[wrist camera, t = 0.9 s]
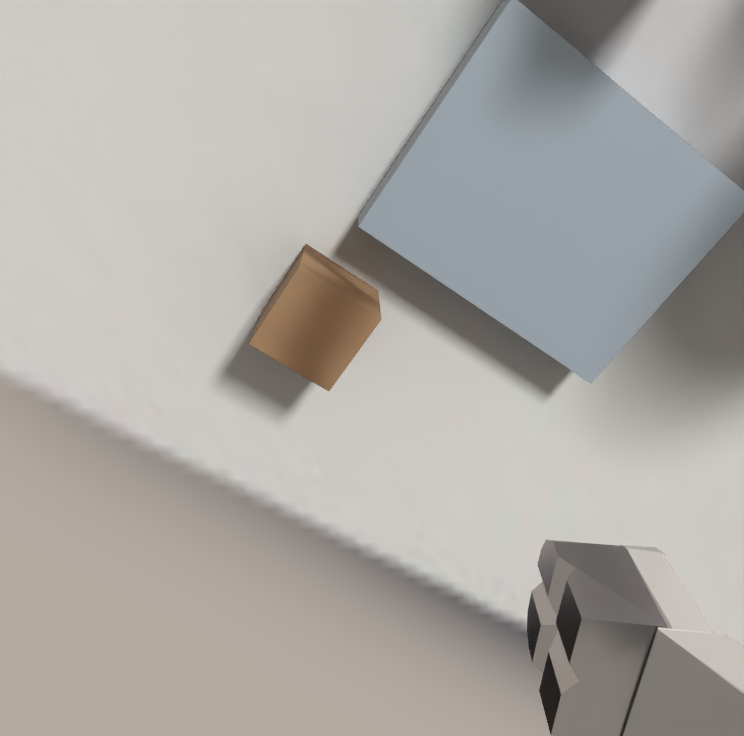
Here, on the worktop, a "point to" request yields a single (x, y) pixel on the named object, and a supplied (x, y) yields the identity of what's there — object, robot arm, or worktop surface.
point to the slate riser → (550, 195)
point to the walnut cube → (317, 318)
